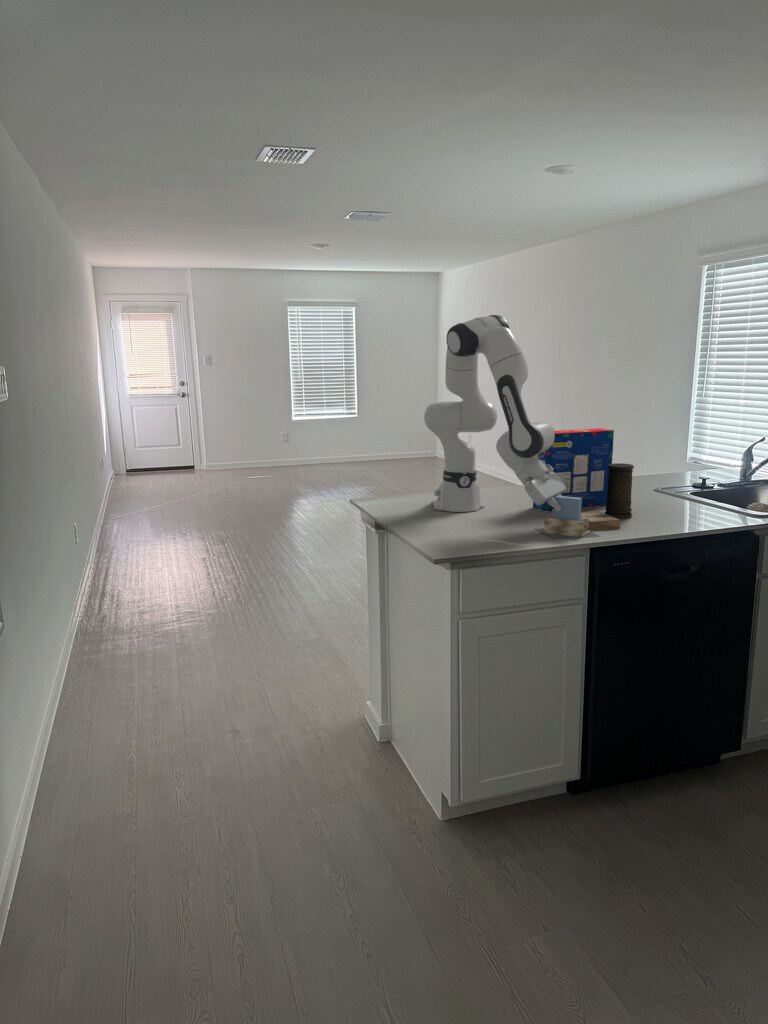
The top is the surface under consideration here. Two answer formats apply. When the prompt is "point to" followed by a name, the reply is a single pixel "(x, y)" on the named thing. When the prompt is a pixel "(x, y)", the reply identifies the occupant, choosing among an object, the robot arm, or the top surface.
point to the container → (619, 491)
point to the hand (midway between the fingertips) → (562, 508)
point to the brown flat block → (600, 520)
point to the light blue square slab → (568, 508)
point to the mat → (558, 536)
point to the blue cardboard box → (581, 464)
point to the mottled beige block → (566, 526)
